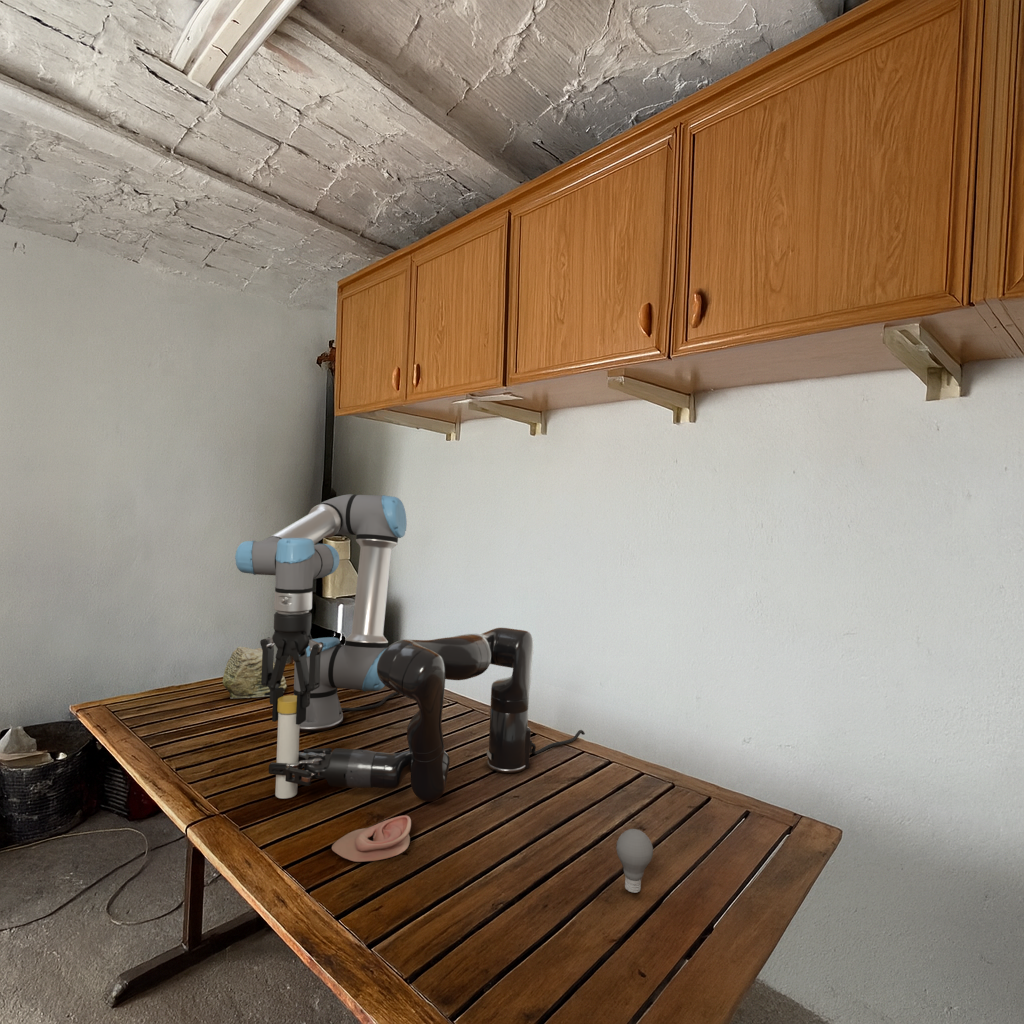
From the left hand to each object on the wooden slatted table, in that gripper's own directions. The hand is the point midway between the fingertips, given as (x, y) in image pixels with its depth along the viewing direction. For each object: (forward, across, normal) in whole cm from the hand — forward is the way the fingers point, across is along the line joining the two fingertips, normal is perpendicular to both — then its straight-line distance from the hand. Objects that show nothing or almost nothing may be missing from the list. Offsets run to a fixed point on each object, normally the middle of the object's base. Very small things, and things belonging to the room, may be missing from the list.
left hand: (289, 720), depth 134 cm
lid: (-4, 0, 0) cm, 4 cm away
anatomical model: (+16, +26, -14) cm, 33 cm away
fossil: (+16, -45, +56) cm, 73 cm away
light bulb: (+16, +72, -15) cm, 76 cm away
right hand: (+9, -3, 0) cm, 10 cm away
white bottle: (+16, 0, 0) cm, 16 cm away
